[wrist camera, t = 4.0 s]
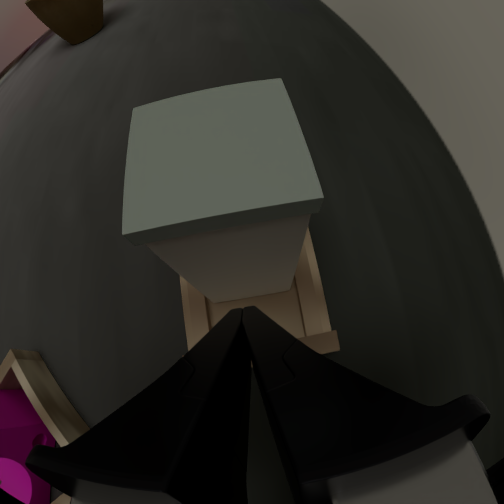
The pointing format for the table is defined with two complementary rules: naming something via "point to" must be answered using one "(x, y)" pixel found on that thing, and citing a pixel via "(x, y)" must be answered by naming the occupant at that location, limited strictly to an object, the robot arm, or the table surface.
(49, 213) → the table surface
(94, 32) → the plant pot
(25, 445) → the toy block
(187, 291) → the wooden tray
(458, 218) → the table surface
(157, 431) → the robot arm
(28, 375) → the block pen
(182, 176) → the block
